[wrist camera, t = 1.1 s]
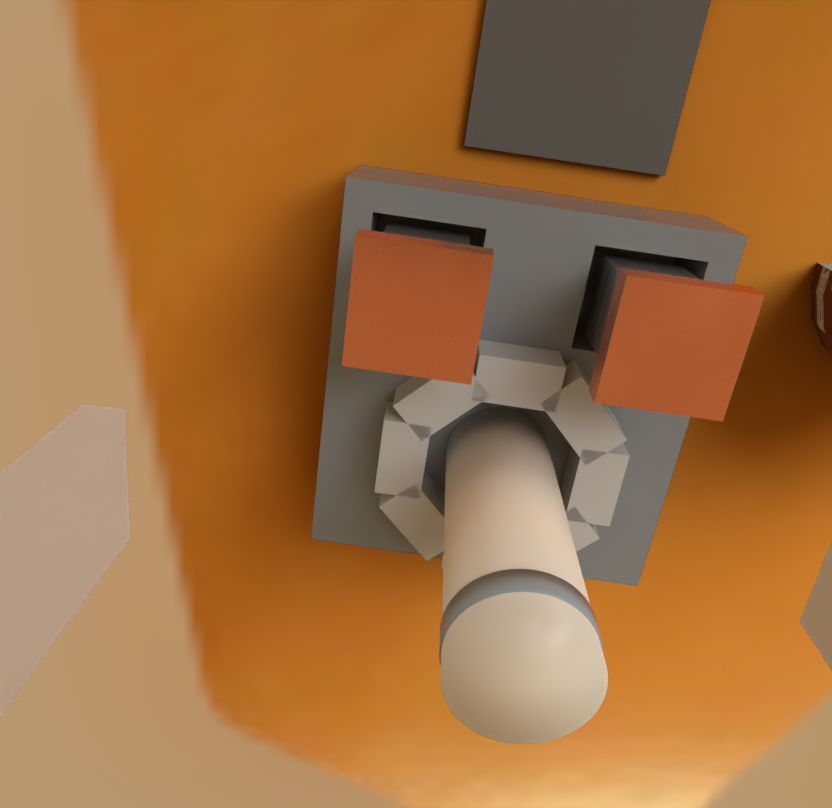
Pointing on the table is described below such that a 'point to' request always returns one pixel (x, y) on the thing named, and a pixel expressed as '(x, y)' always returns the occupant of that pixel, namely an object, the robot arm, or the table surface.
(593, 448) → the housing
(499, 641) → the cartridge
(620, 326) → the plunger
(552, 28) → the mat
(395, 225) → the plunger
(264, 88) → the table surface
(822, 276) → the food container
